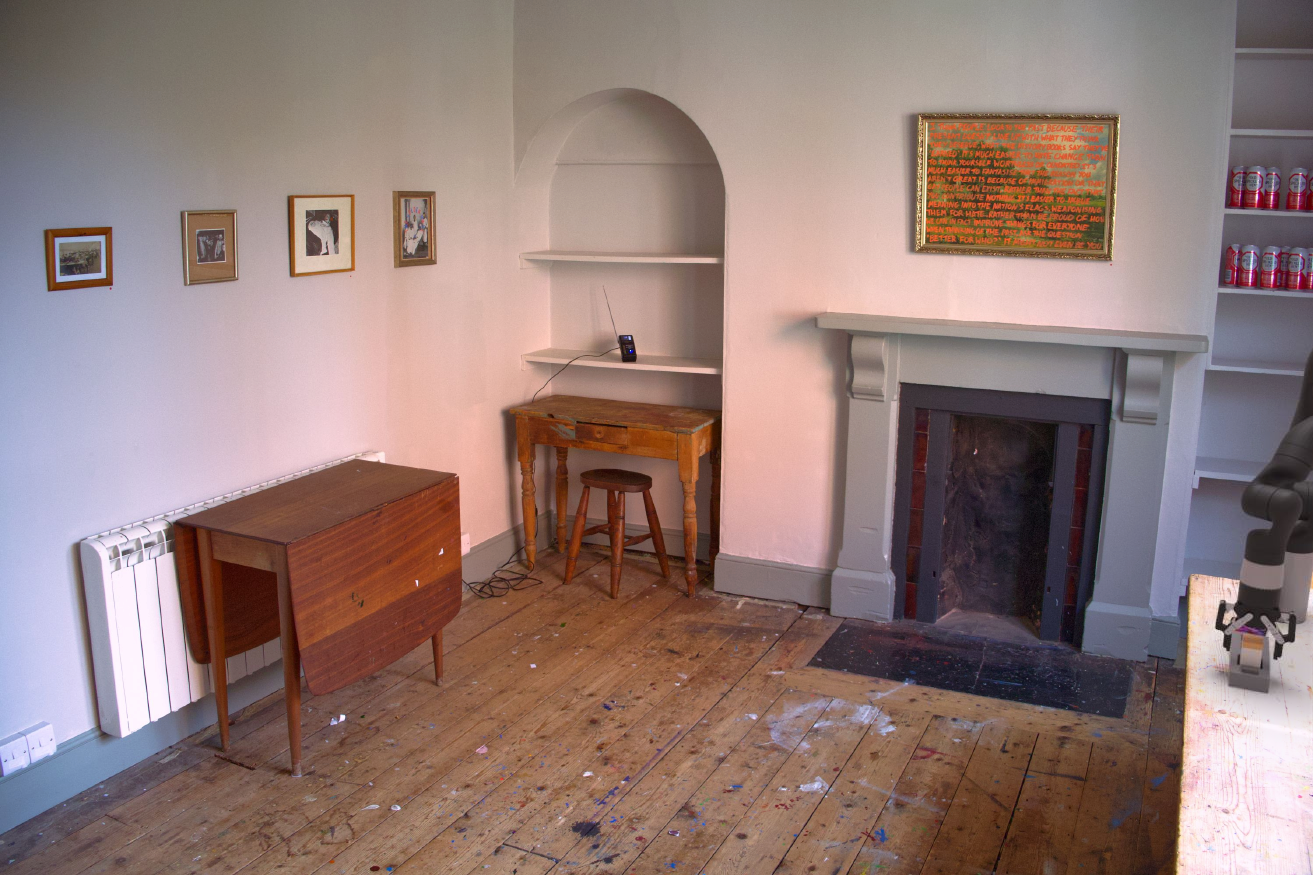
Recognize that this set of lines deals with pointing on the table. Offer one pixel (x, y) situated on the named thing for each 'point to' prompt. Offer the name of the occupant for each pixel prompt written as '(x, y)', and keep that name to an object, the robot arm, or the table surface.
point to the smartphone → (1251, 630)
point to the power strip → (1246, 677)
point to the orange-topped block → (1251, 650)
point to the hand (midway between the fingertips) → (1251, 654)
